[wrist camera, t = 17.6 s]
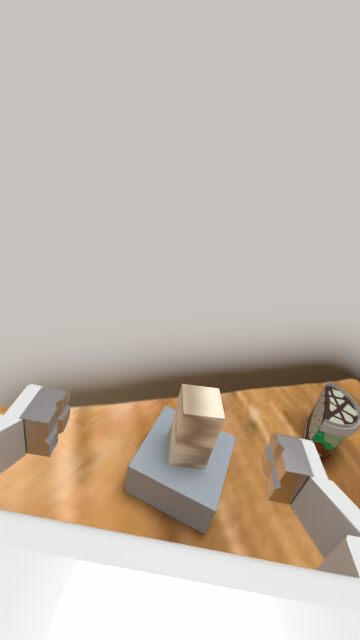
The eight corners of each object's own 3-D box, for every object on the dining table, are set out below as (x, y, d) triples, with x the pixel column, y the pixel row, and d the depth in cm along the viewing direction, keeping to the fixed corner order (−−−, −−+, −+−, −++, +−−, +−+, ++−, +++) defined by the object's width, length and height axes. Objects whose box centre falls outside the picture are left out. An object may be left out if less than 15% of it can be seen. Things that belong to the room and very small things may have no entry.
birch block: (201, 437, 43) (219, 388, 38) (204, 469, 39) (225, 418, 34) (168, 434, 43) (182, 383, 38) (168, 465, 38) (183, 413, 34)
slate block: (225, 461, 48) (235, 437, 45) (204, 536, 37) (216, 511, 35) (159, 430, 50) (165, 405, 47) (123, 492, 40) (128, 466, 37)
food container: (336, 480, 48) (367, 441, 43) (299, 460, 50) (325, 421, 45) (337, 430, 58) (362, 394, 53) (307, 416, 60) (328, 379, 55)
